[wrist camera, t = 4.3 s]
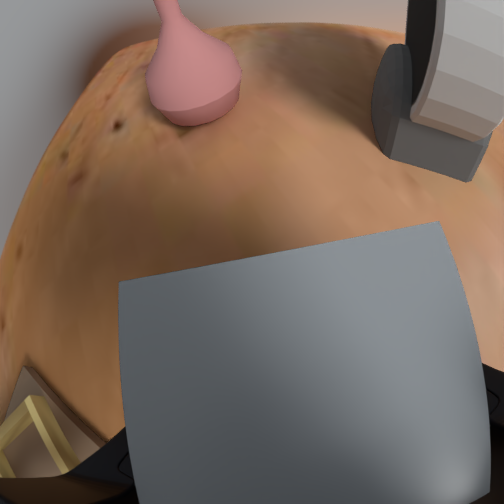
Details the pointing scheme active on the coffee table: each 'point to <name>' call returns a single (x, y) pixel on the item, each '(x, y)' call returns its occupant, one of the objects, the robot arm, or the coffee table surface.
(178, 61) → the pink vase
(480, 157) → the alarm clock
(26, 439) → the station board
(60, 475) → the robot arm
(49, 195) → the coffee table surface
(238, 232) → the coffee table surface
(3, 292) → the coffee table surface
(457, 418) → the grey square pillar
